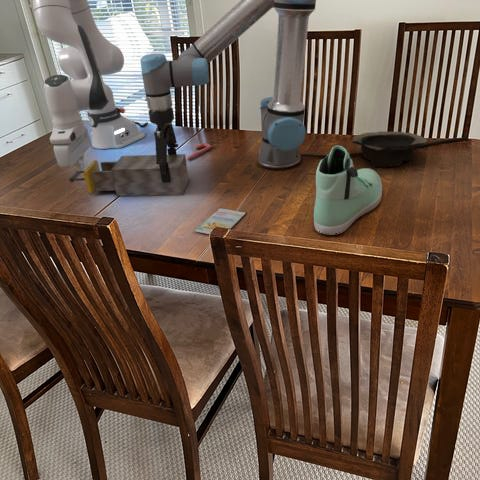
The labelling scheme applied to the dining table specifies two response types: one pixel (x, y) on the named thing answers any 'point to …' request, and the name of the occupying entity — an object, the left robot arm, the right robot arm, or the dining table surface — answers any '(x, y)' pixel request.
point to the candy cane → (200, 150)
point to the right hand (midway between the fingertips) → (170, 174)
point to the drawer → (97, 176)
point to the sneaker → (343, 192)
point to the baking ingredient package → (220, 220)
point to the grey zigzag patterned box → (149, 176)
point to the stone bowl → (388, 147)
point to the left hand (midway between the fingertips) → (80, 169)
